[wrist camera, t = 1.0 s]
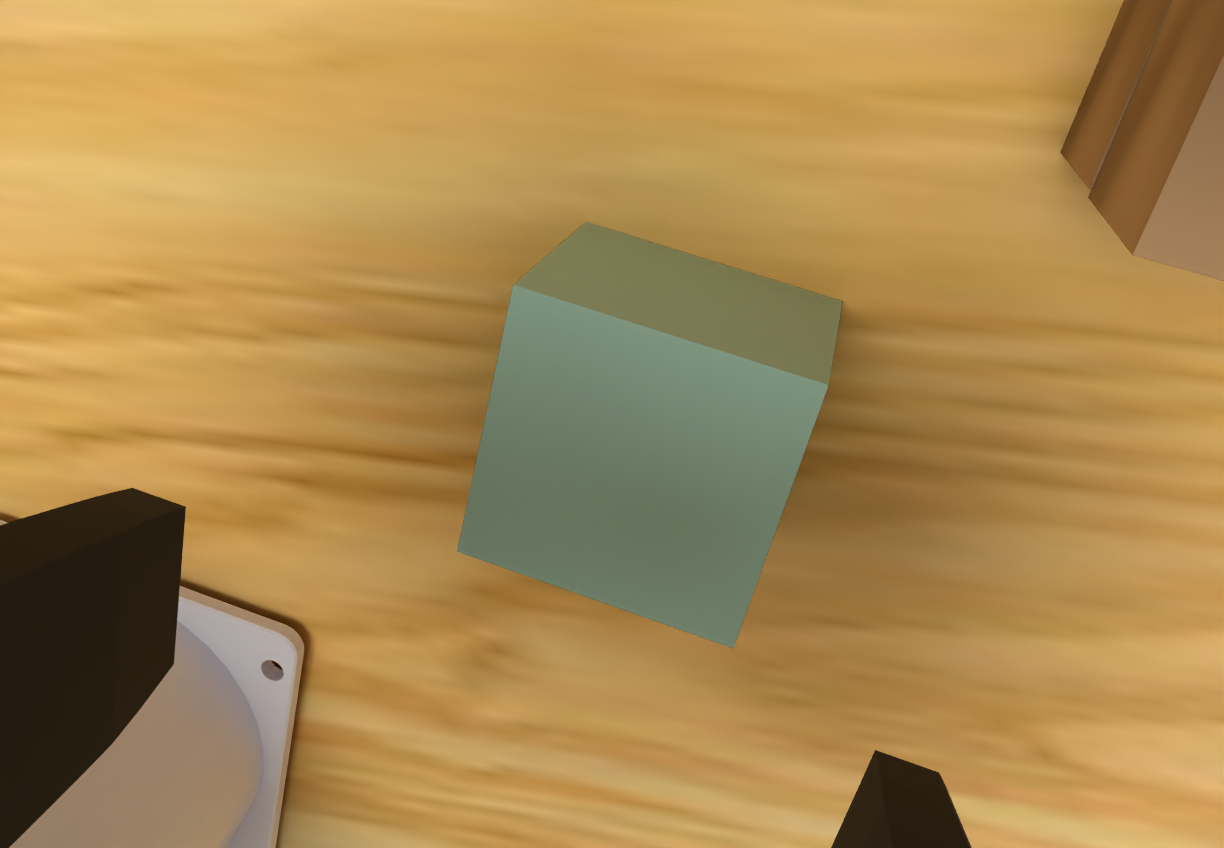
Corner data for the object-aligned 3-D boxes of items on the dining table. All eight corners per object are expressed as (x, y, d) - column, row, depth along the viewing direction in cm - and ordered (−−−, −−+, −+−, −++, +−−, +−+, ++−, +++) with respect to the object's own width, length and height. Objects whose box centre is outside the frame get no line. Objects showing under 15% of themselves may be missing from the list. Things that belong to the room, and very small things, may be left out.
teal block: (763, 524, 20) (733, 648, 17) (533, 447, 21) (456, 551, 17) (843, 299, 18) (828, 384, 15) (587, 220, 19) (513, 284, 15)
